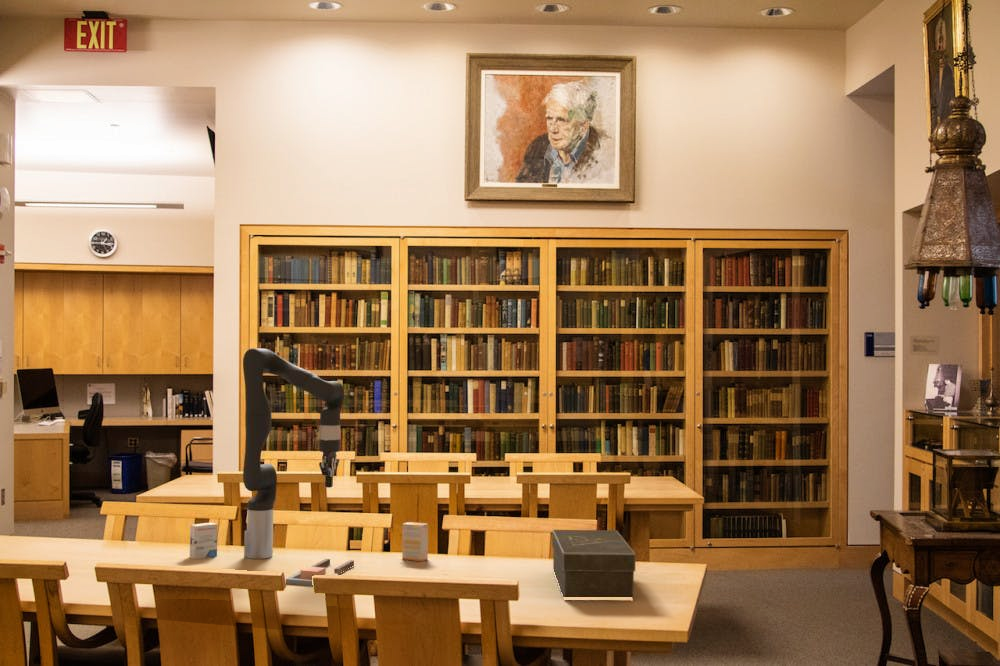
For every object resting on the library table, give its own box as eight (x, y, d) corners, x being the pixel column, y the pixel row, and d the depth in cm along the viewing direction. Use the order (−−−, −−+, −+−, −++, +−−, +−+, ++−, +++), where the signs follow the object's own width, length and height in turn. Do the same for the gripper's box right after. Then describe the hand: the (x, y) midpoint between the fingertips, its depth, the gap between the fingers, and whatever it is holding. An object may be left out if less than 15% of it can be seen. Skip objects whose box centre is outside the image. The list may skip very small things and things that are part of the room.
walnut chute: (309, 572, 343) (309, 567, 343) (325, 564, 356) (326, 558, 357) (338, 575, 340) (338, 569, 341) (353, 566, 354) (353, 560, 354)
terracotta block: (300, 582, 330) (300, 570, 330) (308, 578, 336) (309, 566, 336) (317, 584, 328) (317, 571, 328) (325, 580, 334) (325, 567, 334)
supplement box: (428, 559, 367) (428, 523, 367) (421, 562, 363) (422, 525, 363) (408, 557, 371) (408, 521, 371) (401, 559, 366) (402, 523, 367)
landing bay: (284, 583, 327) (284, 579, 327) (301, 575, 339) (301, 570, 339) (322, 586, 324) (322, 581, 324) (337, 577, 336) (337, 573, 336)
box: (562, 602, 310) (562, 552, 311) (551, 573, 350) (552, 529, 350) (635, 602, 311) (635, 553, 311) (616, 573, 350) (617, 530, 350)
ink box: (211, 554, 371) (212, 521, 371) (217, 556, 367) (218, 524, 367) (189, 557, 365) (189, 524, 366) (194, 559, 361) (195, 526, 362)
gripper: (327, 435, 365) (326, 484, 365) (312, 439, 352) (311, 489, 352) (346, 436, 363) (345, 485, 363) (332, 439, 351) (331, 490, 350)
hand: (328, 487), depth 358 cm, fingers closed
